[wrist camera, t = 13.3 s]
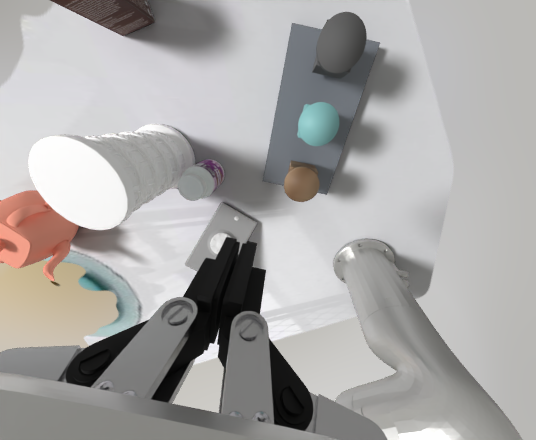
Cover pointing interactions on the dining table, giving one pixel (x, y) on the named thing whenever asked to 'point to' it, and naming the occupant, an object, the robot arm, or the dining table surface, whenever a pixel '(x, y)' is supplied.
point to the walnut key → (301, 181)
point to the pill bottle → (201, 180)
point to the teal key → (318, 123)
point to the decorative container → (108, 172)
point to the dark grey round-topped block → (340, 45)
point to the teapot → (33, 232)
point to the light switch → (220, 234)
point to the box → (113, 13)
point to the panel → (309, 92)
